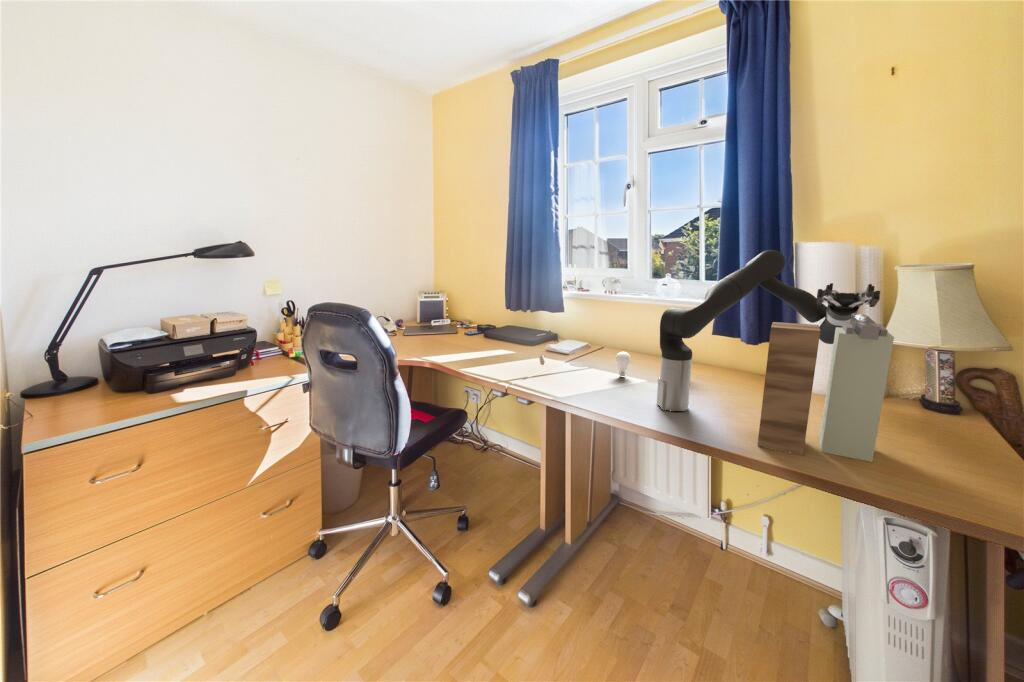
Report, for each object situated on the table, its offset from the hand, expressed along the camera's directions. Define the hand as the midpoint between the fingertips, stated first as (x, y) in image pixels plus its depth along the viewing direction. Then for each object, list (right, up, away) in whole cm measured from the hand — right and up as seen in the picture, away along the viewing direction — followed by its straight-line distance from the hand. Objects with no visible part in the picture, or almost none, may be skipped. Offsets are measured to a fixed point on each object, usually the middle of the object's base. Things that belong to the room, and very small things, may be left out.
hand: (850, 286), depth 116 cm
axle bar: (-8, -13, -14) cm, 21 cm away
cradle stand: (-8, -43, -8) cm, 45 cm away
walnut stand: (-23, -43, -4) cm, 49 cm away
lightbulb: (-49, -31, +58) cm, 81 cm away
